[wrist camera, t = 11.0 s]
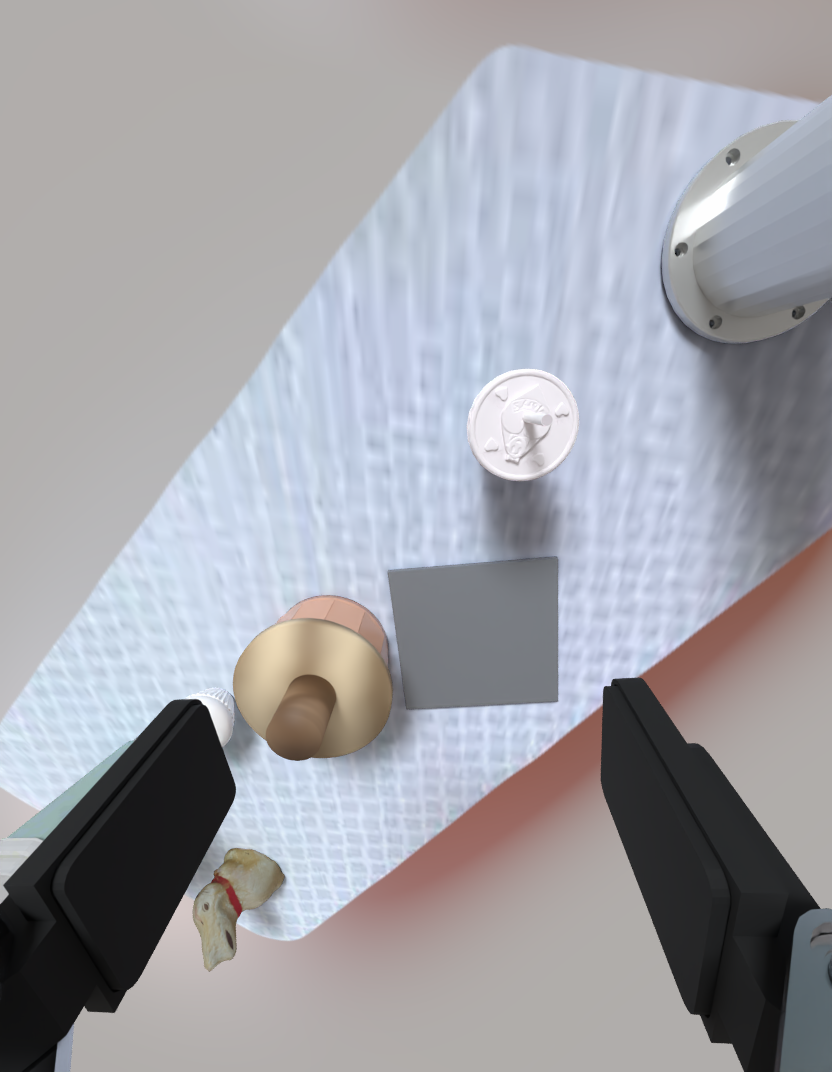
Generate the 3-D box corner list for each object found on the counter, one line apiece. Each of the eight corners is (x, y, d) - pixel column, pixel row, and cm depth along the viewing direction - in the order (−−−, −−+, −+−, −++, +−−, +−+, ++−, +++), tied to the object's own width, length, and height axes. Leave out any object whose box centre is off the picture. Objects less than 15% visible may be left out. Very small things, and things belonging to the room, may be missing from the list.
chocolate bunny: (248, 834, 48) (202, 940, 39) (290, 874, 50) (255, 985, 40) (214, 851, 49) (162, 957, 40) (256, 889, 51) (215, 1000, 42)
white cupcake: (181, 707, 43) (134, 763, 36) (201, 665, 41) (155, 715, 34) (235, 732, 43) (199, 791, 37) (257, 692, 42) (223, 746, 35)
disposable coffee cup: (169, 808, 47) (53, 981, 33) (85, 760, 46) (-74, 921, 31) (213, 754, 44) (108, 918, 30) (126, 701, 43) (-29, 848, 29)
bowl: (380, 590, 38) (370, 624, 32) (394, 690, 41) (388, 736, 35) (265, 599, 38) (236, 633, 33) (288, 696, 42) (265, 742, 36)
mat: (556, 556, 36) (557, 558, 35) (556, 697, 40) (558, 701, 40) (388, 570, 37) (387, 572, 36) (406, 705, 41) (406, 709, 41)
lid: (381, 611, 31) (370, 652, 26) (401, 744, 35) (396, 803, 30) (221, 624, 32) (180, 666, 27) (258, 752, 36) (228, 810, 31)
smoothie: (551, 391, 32) (635, 380, 18) (523, 470, 34) (581, 513, 20) (472, 368, 31) (499, 341, 18) (449, 450, 33) (458, 479, 20)
